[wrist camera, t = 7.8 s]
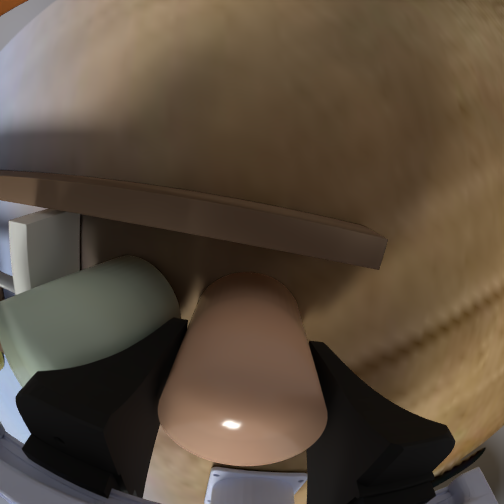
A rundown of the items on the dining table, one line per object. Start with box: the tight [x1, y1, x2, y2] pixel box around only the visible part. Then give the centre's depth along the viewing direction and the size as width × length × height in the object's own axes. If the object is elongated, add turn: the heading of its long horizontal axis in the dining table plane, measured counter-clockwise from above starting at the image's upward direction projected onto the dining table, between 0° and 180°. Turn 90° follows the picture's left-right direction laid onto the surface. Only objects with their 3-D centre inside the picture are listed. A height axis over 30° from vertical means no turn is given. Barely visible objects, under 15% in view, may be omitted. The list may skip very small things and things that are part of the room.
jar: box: [158, 272, 328, 466], centre depth 10 cm, size 5×5×6 cm
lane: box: [0, 170, 388, 353], centre depth 11 cm, size 11×22×4 cm, turn 79°
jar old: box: [0, 256, 181, 388], centre depth 9 cm, size 5×5×6 cm
